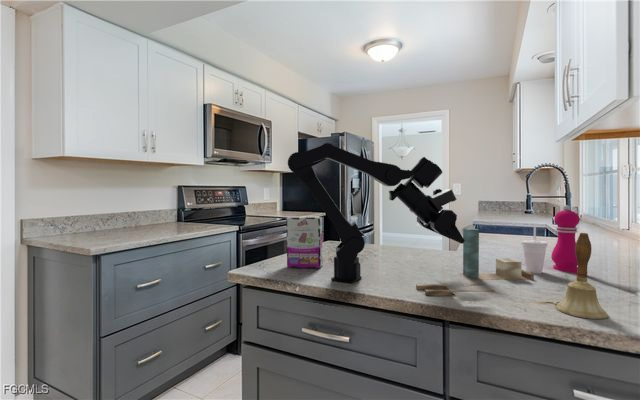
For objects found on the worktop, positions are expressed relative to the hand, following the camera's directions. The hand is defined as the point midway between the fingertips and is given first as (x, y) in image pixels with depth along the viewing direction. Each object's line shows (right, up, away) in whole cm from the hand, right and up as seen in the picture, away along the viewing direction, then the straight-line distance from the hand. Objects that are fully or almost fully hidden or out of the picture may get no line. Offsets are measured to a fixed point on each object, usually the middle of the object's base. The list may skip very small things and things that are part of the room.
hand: (456, 239), depth 91 cm
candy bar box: (-42, -11, +18) cm, 47 cm away
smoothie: (+24, -11, +5) cm, 27 cm away
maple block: (+14, -10, 0) cm, 17 cm away
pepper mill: (+35, -11, +7) cm, 38 cm away
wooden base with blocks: (+10, -11, 0) cm, 15 cm away
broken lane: (-4, -11, -10) cm, 16 cm away
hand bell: (+15, -12, -24) cm, 31 cm away
